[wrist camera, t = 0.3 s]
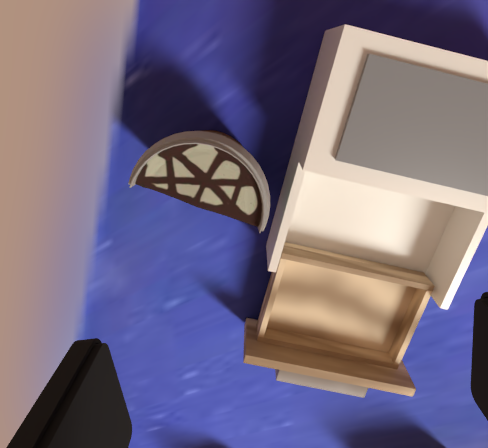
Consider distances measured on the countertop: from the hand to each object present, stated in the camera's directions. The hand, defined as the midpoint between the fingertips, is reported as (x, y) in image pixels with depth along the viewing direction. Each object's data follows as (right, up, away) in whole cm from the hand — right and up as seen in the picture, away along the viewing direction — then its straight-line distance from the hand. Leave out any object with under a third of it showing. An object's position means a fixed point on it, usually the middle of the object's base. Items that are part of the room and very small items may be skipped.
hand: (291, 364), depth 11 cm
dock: (+13, +9, +33) cm, 36 cm away
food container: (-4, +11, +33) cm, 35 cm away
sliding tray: (+9, -6, +38) cm, 40 cm away
